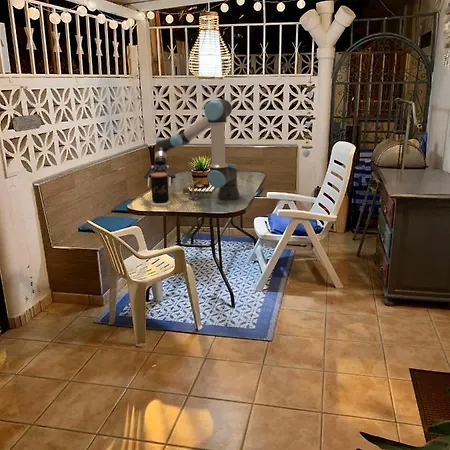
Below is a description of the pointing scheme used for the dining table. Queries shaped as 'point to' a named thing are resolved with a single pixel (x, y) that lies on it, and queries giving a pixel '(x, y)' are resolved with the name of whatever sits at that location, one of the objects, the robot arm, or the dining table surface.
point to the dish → (160, 204)
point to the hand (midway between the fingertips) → (159, 187)
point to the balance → (186, 190)
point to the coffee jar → (159, 187)
